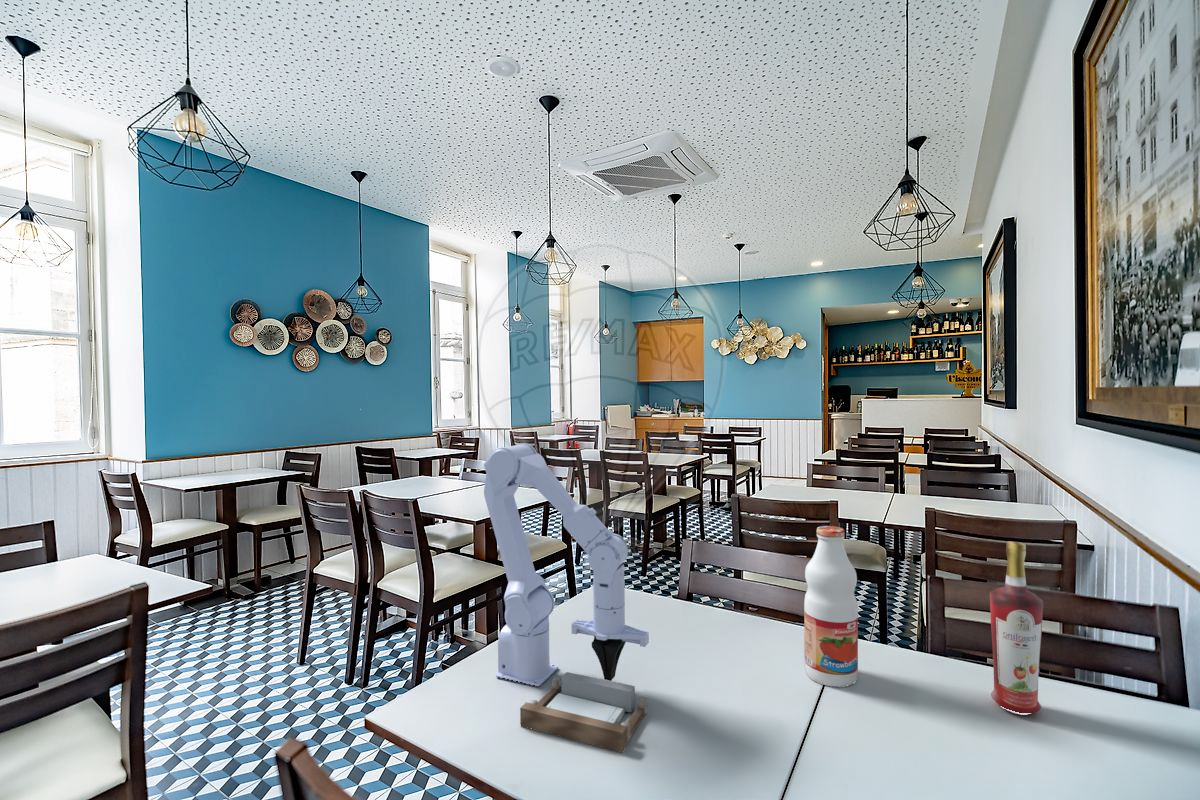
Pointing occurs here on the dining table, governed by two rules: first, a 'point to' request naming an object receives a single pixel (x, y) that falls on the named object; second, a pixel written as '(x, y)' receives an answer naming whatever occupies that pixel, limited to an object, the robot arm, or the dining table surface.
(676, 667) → the dining table surface
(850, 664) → the fruit juice
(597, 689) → the grey rectangular beam
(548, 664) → the robot arm
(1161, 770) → the dining table surface
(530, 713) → the dock
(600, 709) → the hard drive
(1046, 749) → the dining table surface
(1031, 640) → the liquor
